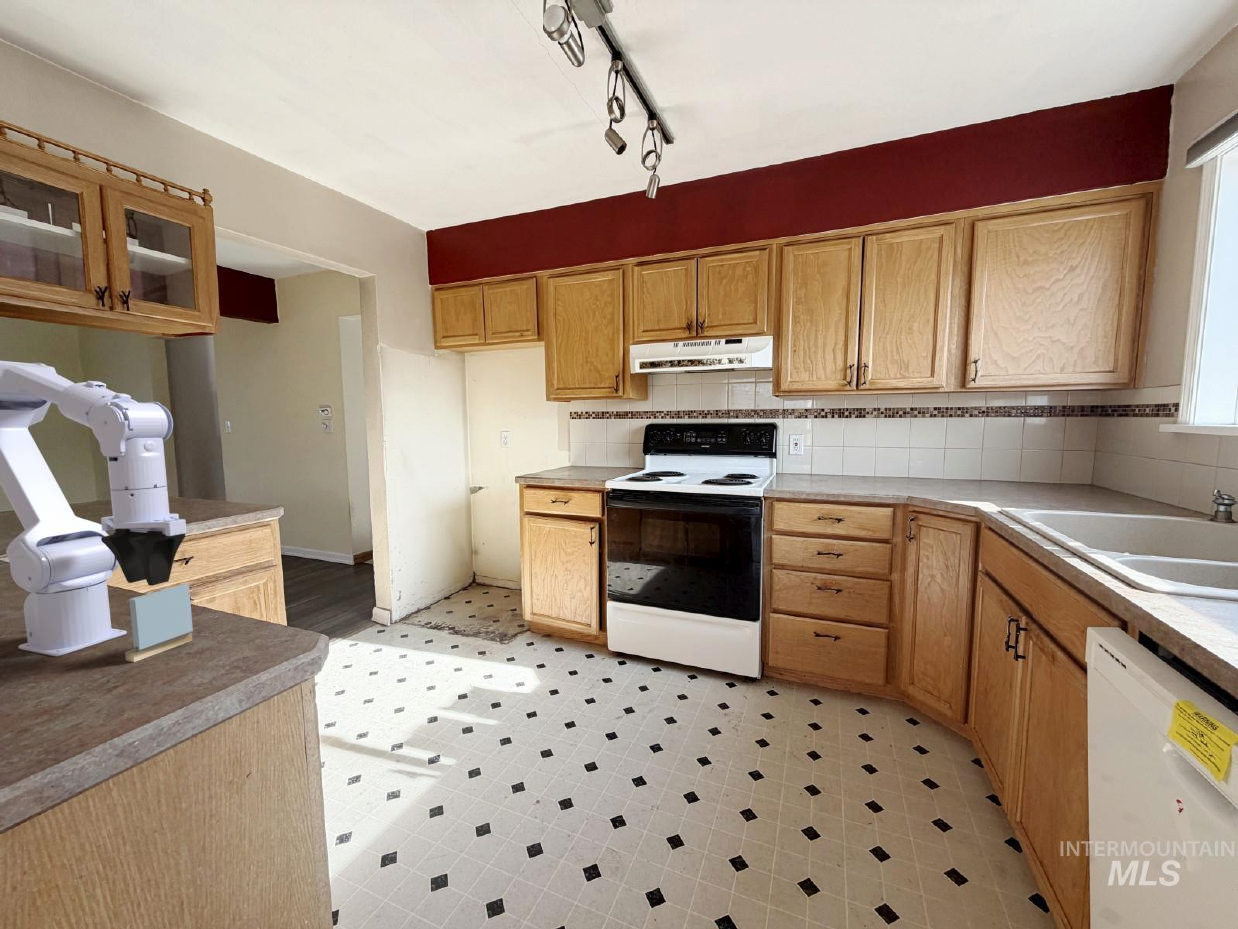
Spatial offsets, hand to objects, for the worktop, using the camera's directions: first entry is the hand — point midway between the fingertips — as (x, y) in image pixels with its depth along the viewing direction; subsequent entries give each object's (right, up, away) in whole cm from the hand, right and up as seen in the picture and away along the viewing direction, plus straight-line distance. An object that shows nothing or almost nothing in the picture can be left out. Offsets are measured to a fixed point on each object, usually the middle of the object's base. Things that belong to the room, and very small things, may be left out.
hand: (148, 582), depth 70 cm
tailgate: (+2, -8, 0) cm, 9 cm away
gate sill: (+1, -10, 0) cm, 10 cm away
